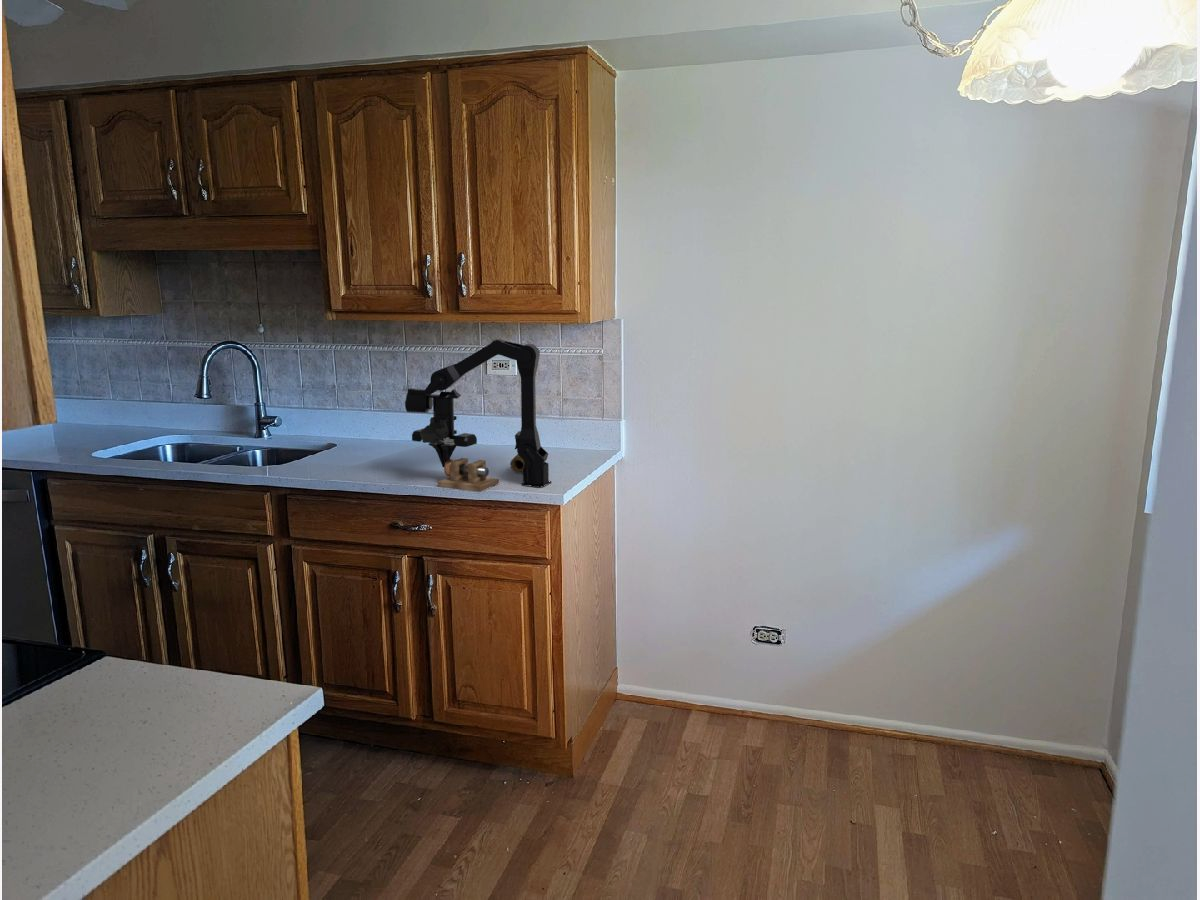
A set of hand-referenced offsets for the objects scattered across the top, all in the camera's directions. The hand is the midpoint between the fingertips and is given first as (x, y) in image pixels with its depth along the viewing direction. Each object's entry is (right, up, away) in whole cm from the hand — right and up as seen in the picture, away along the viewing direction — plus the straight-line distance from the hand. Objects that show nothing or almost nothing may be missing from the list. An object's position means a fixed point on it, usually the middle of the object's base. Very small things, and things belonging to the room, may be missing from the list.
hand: (444, 467), depth 245 cm
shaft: (+7, -3, -3) cm, 8 cm away
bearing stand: (+7, -5, -2) cm, 9 cm away
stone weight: (+22, -1, +18) cm, 29 cm away
